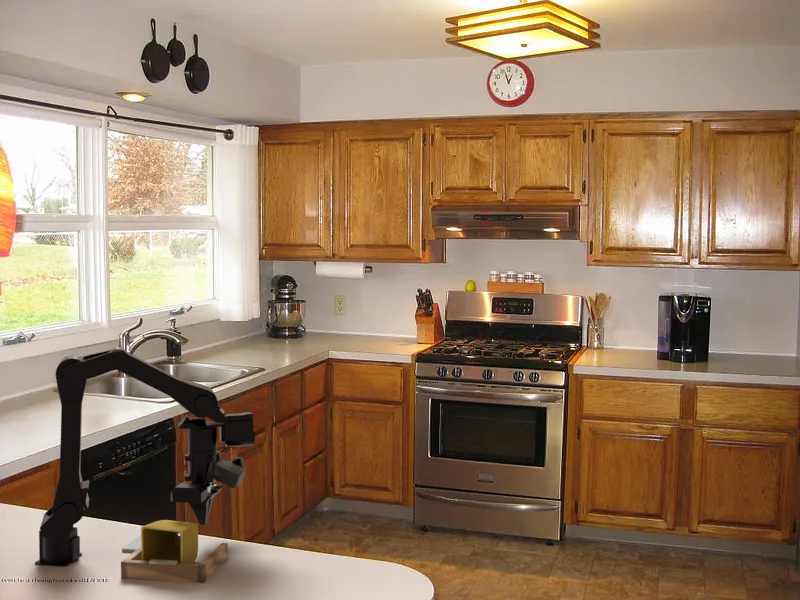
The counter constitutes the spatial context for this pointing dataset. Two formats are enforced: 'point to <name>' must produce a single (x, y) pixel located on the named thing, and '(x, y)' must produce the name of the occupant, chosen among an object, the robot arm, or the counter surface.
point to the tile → (133, 545)
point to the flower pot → (170, 541)
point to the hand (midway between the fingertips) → (203, 524)
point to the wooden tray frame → (172, 567)
